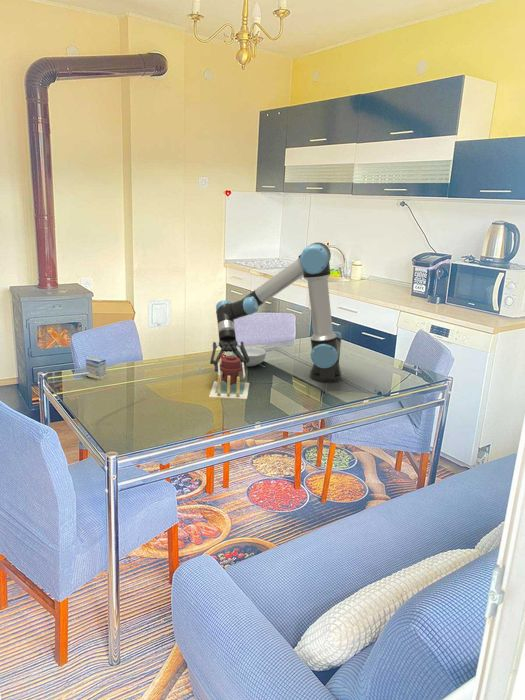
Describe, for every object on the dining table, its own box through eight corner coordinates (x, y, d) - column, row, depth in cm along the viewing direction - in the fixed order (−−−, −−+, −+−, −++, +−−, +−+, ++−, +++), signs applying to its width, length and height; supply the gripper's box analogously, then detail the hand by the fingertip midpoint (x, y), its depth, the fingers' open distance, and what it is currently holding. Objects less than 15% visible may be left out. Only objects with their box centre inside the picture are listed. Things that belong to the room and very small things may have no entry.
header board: (249, 384, 233) (249, 382, 233) (246, 401, 215) (246, 398, 215) (214, 382, 233) (214, 380, 233) (208, 398, 215) (208, 396, 215)
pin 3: (239, 396, 217) (240, 376, 215) (239, 397, 216) (240, 377, 213) (236, 395, 217) (236, 375, 215) (235, 397, 216) (236, 377, 213)
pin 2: (230, 395, 217) (230, 375, 215) (229, 396, 216) (230, 376, 213) (226, 395, 217) (227, 375, 215) (226, 396, 216) (227, 376, 213)
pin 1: (220, 394, 217) (221, 375, 215) (220, 396, 216) (220, 376, 213) (217, 394, 218) (217, 374, 215) (217, 396, 216) (217, 376, 214)
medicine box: (86, 377, 233) (85, 359, 231) (92, 374, 237) (91, 356, 235) (100, 380, 231) (99, 361, 228) (106, 377, 234) (105, 359, 232)
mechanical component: (243, 380, 229) (238, 388, 220) (222, 378, 231) (216, 386, 222) (245, 354, 226) (239, 361, 216) (223, 352, 227) (216, 359, 218)
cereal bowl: (271, 363, 264) (272, 350, 262) (253, 371, 250) (254, 358, 248) (244, 356, 272) (244, 344, 270) (225, 364, 259) (225, 351, 257)
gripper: (249, 336, 237) (255, 380, 227) (201, 336, 232) (204, 381, 222) (252, 328, 231) (258, 372, 221) (202, 328, 225) (206, 374, 215)
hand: (231, 377), depth 221 cm, fingers closed on mechanical component, 10 cm apart
